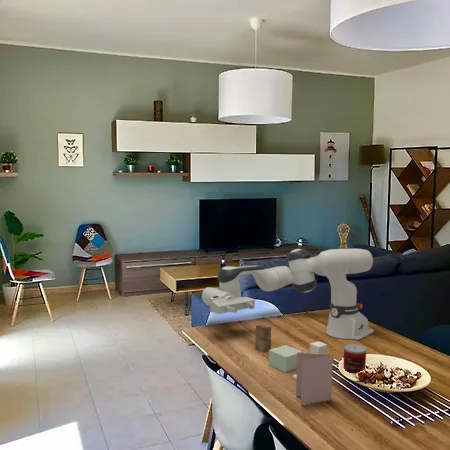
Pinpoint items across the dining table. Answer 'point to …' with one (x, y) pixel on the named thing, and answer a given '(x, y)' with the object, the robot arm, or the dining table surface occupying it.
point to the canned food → (354, 358)
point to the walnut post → (263, 337)
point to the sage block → (283, 358)
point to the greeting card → (314, 377)
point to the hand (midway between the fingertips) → (244, 309)
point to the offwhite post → (318, 348)
